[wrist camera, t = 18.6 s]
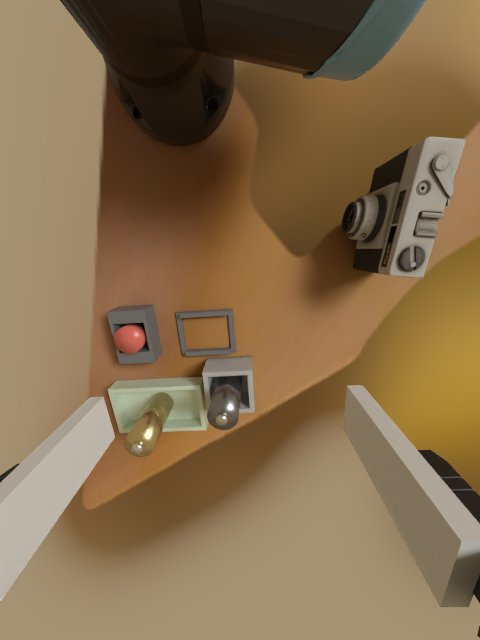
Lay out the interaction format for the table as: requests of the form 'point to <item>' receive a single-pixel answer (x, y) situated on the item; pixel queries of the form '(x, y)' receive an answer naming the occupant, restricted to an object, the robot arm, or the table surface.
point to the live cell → (149, 425)
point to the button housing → (146, 315)
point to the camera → (404, 208)
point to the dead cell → (225, 402)
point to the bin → (230, 368)
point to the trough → (184, 392)
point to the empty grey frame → (206, 314)
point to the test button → (130, 338)
